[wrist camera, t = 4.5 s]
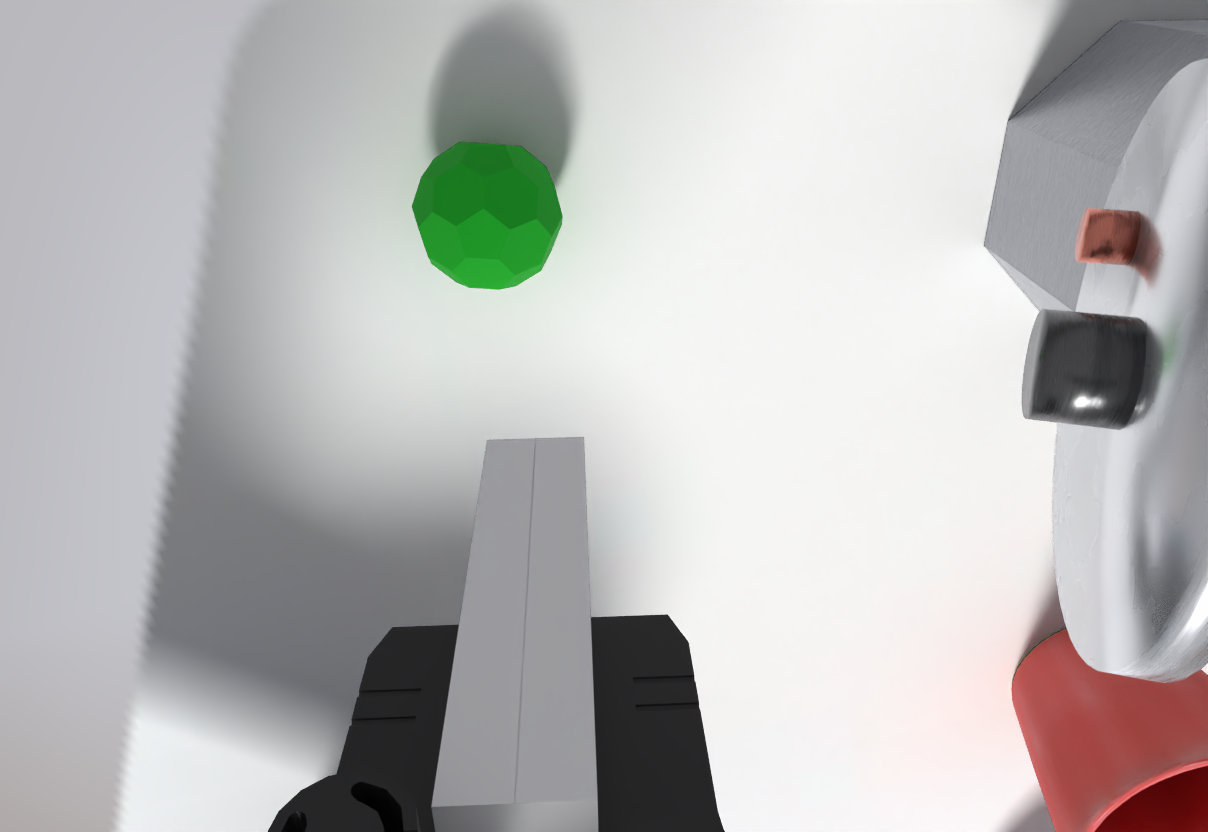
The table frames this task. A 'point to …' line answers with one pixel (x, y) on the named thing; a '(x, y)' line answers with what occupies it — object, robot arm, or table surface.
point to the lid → (1135, 404)
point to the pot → (1078, 151)
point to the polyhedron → (487, 214)
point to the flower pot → (1113, 744)
